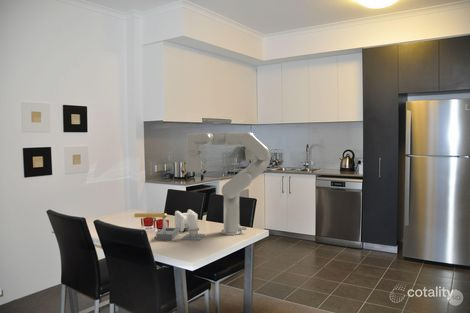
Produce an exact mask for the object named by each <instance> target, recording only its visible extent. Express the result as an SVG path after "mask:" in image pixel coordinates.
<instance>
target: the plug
mask: <svg viewBox="0 0 470 313" xmlns="http://www.w3.org/2000/svg"><path fill="white" fill-rule="evenodd" d="M198 216H199V215H198V213H196V212H195V213H191V214H189V227H188V228H187V231H188V232H189V233H188V234H189V237H198V234H199V233H198V232H199V231H200V228H199V227H198V226H199V224H198Z"/></svg>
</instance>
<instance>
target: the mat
mask: <svg viewBox="0 0 470 313" xmlns="http://www.w3.org/2000/svg"><path fill="white" fill-rule="evenodd" d="M204 236H205V233H198V237H189V233H185V234H184V235H183V237H182V238H180V239H181V241H201V240H202V239H203V238H204Z"/></svg>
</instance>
